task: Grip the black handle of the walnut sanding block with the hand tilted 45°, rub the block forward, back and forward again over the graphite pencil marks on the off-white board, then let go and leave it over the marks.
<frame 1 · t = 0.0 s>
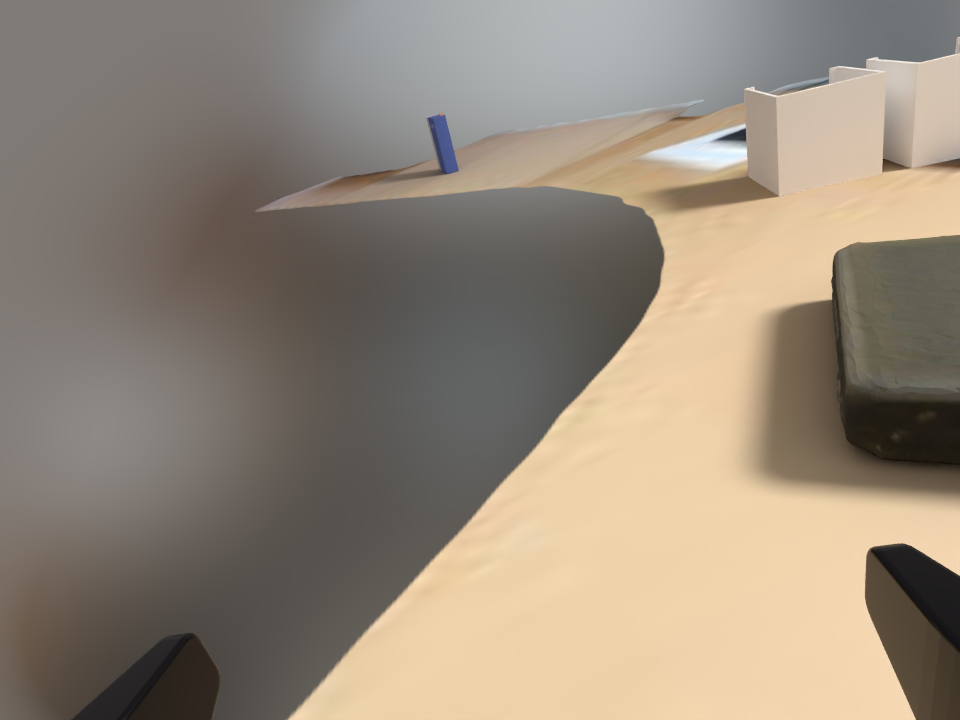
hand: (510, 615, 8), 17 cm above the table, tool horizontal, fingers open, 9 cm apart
walkman: (449, 171, 142), on the table
storage container: (872, 165, 76), on the table
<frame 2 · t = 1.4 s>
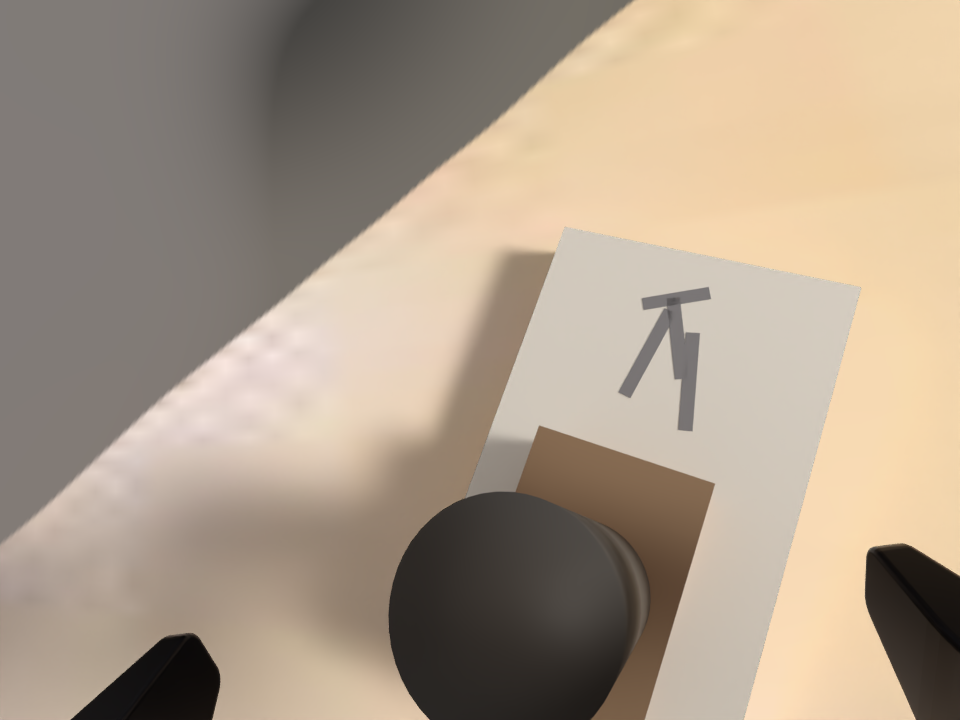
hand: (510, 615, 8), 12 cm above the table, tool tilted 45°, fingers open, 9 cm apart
board: (636, 476, 20), on the table
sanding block: (593, 586, 18), point 2 cm above the table, touching board
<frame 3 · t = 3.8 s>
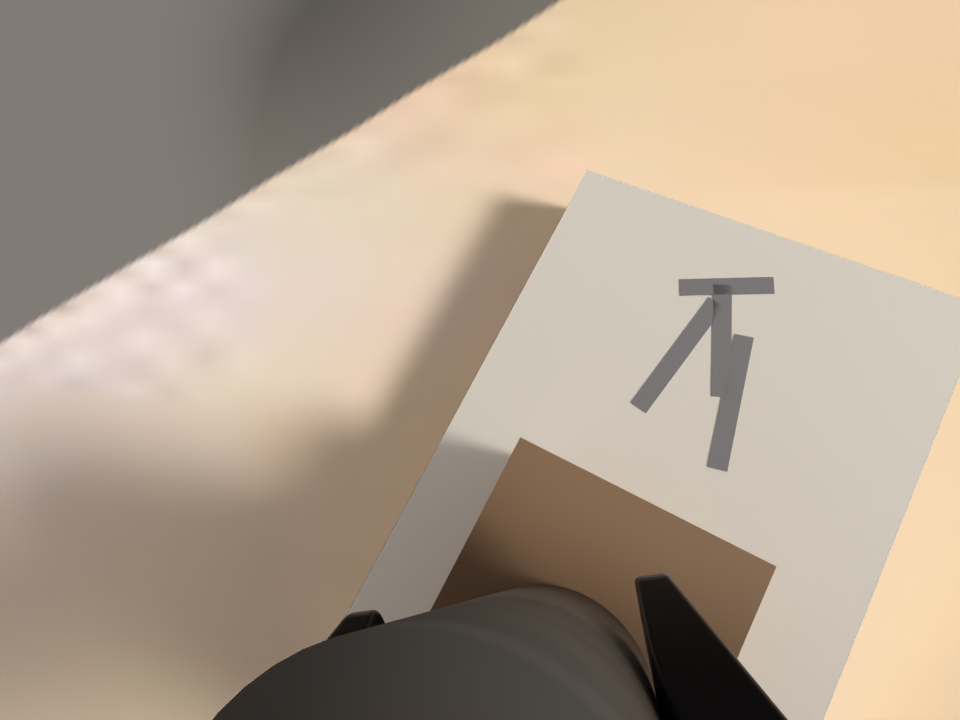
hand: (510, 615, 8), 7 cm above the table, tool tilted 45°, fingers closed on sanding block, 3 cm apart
board: (633, 516, 15), on the table
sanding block: (560, 668, 13), point 2 cm above the table, touching board, gripper
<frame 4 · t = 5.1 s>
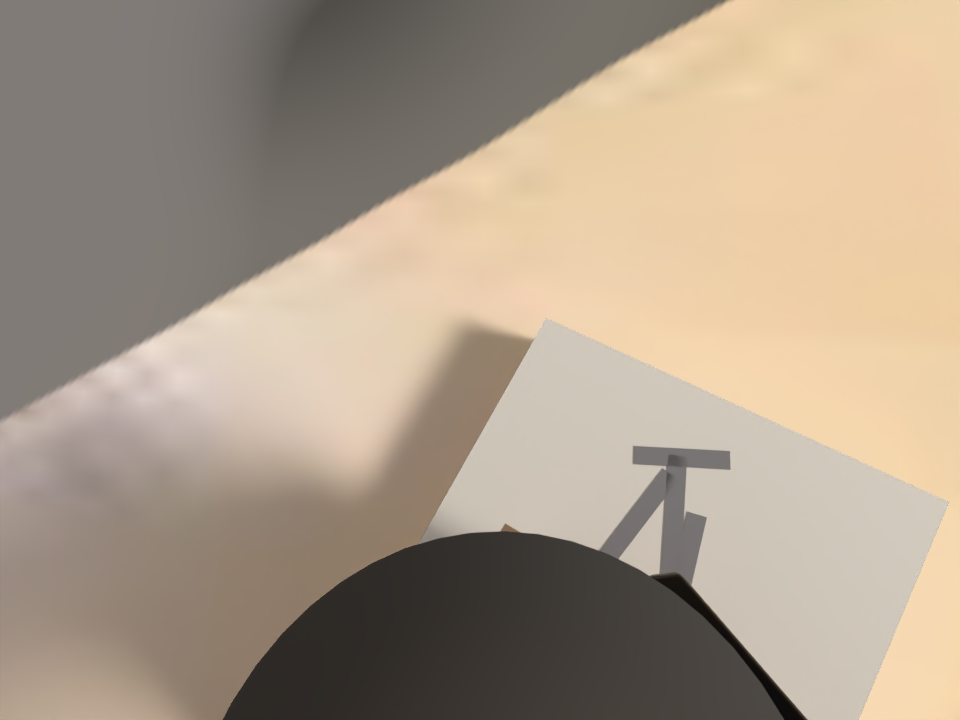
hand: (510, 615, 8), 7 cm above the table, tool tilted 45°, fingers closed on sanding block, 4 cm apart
board: (582, 684, 15), on the table
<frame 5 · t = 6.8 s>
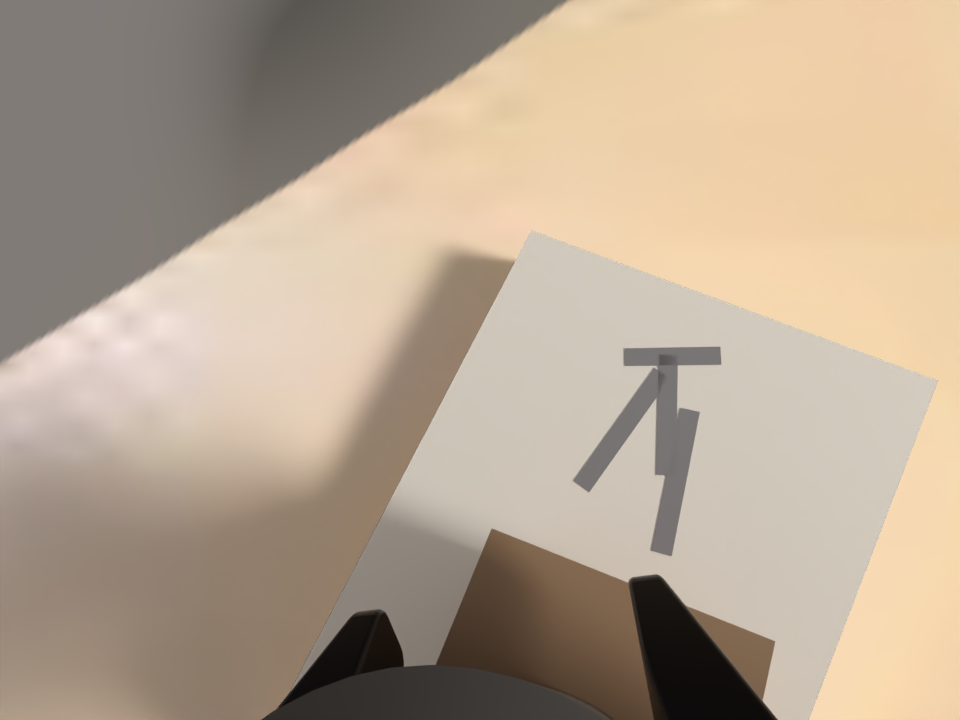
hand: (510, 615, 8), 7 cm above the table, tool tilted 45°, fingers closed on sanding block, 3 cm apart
board: (582, 591, 15), on the table
when the fingers open (7 cm above the table, at t = 8.4 s): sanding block stays where it is, resting on board.
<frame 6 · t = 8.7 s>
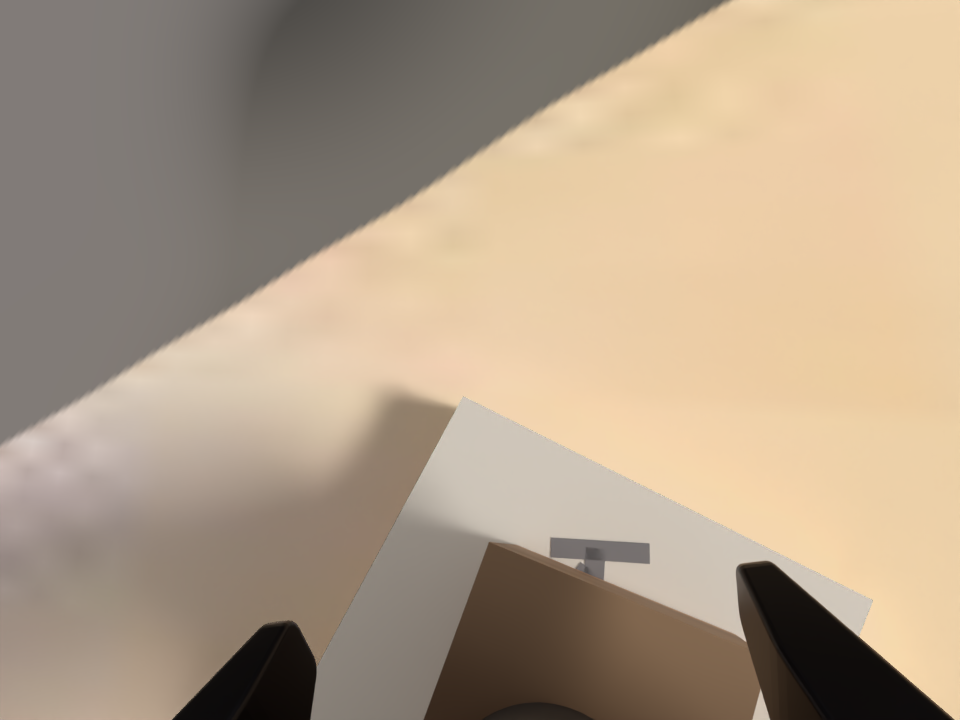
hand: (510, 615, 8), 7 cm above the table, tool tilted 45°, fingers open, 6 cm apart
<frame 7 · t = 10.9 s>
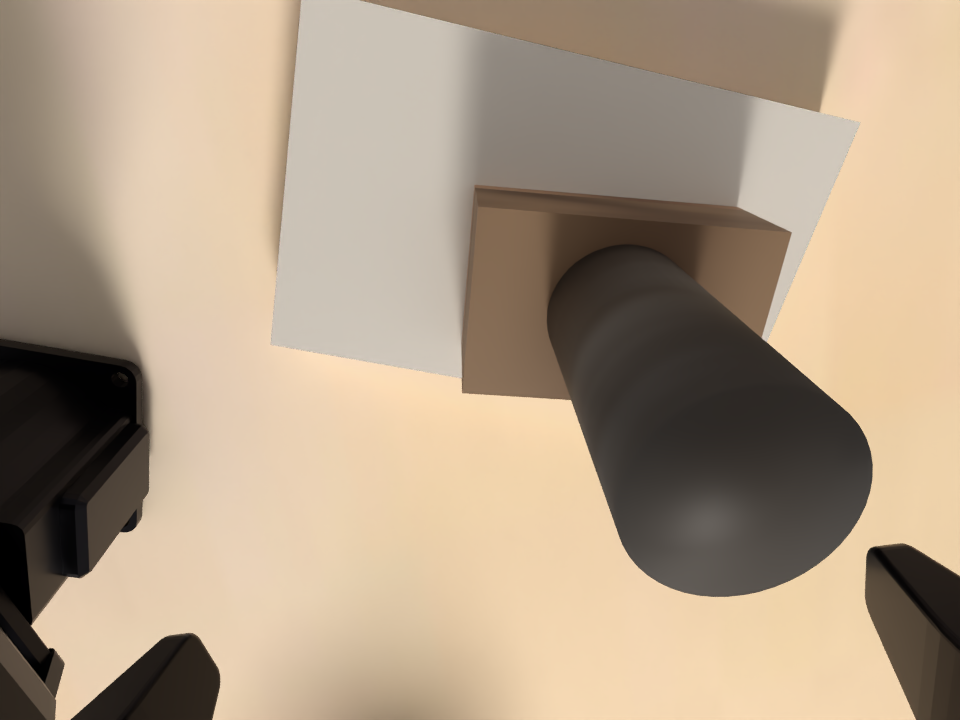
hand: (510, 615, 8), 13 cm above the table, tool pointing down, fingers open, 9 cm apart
board: (540, 223, 19), on the table
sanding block: (594, 278, 18), point 2 cm above the table, touching board
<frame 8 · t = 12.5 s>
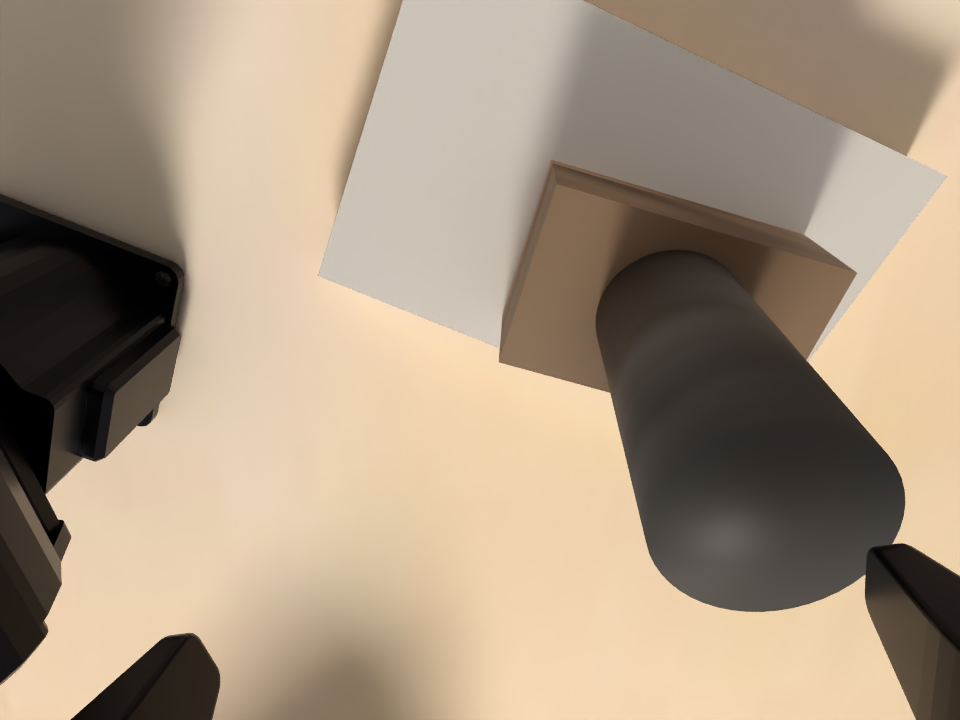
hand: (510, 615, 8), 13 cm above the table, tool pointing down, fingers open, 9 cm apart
board: (603, 210, 19), on the table
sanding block: (646, 276, 18), point 2 cm above the table, touching board
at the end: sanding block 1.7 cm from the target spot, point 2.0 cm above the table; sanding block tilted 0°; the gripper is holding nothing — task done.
